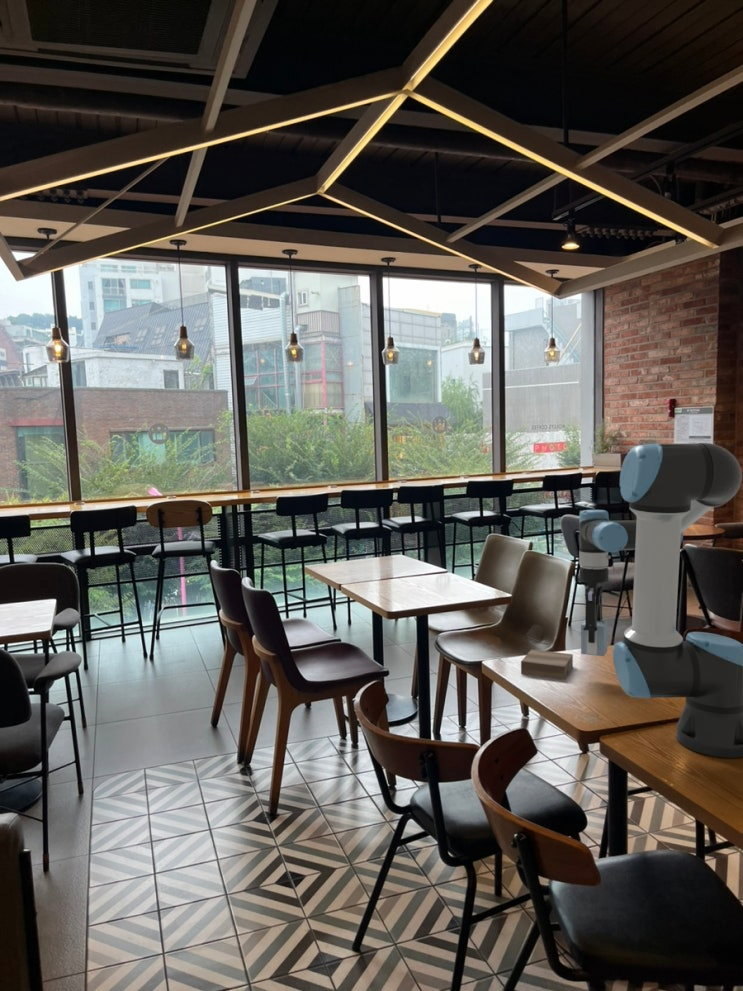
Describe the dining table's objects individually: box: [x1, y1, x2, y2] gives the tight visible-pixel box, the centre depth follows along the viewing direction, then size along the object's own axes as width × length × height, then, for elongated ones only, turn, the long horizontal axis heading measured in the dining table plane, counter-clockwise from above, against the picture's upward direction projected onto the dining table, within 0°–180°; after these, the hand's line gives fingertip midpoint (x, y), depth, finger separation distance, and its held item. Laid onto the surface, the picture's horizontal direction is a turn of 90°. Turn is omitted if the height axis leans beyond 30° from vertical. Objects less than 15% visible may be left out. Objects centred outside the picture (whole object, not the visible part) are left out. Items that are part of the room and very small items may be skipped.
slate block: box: [580, 619, 608, 657], centre depth 189 cm, size 6×6×8 cm
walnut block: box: [520, 649, 574, 681], centre depth 198 cm, size 12×12×4 cm
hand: (594, 650), depth 189 cm, fingers closed on slate block, 6 cm apart
